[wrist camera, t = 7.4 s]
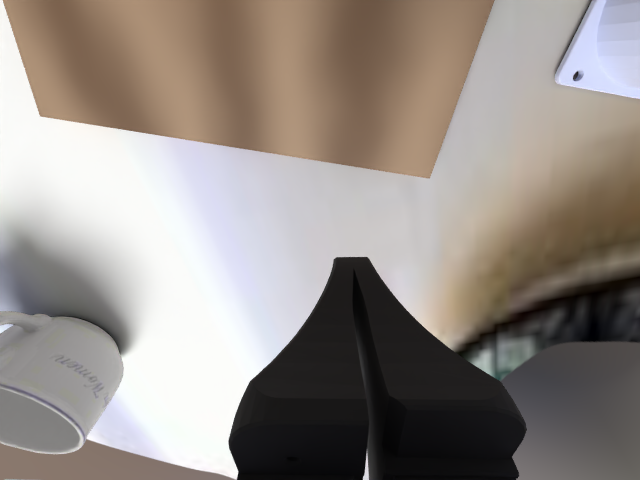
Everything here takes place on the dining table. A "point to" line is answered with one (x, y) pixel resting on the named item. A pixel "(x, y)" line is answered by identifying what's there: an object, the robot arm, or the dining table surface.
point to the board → (259, 72)
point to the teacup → (54, 381)
